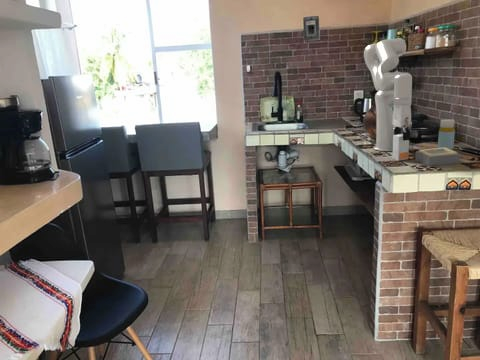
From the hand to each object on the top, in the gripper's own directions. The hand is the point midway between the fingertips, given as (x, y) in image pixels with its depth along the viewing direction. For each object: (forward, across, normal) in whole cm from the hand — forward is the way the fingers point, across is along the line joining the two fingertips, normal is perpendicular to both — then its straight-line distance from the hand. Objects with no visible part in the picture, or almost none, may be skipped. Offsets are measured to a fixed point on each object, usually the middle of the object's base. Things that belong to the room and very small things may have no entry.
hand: (401, 138), depth 178 cm
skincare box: (+11, -1, 0) cm, 11 cm away
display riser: (+11, +8, +13) cm, 19 cm away
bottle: (+10, -10, +27) cm, 31 cm away
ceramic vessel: (+9, -52, +9) cm, 54 cm away
